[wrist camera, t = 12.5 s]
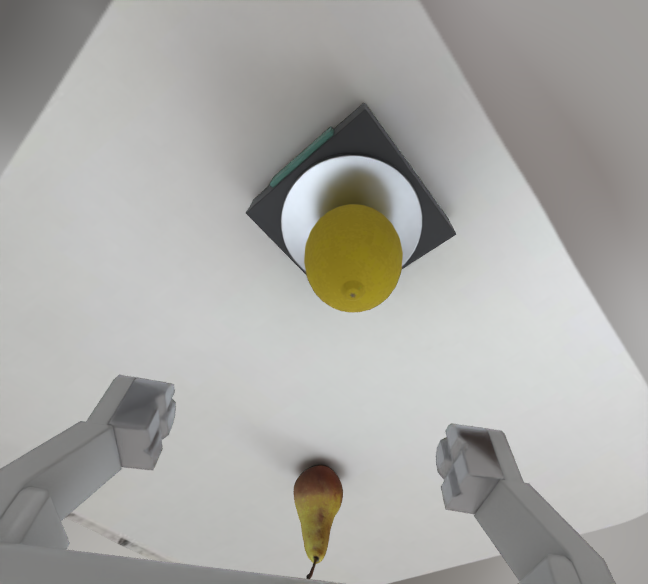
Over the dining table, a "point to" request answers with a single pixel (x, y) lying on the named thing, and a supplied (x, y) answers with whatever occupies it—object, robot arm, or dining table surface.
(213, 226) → the dining table surface
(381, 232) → the lemon
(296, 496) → the fruit
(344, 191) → the scale pan
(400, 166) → the scale
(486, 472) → the robot arm
